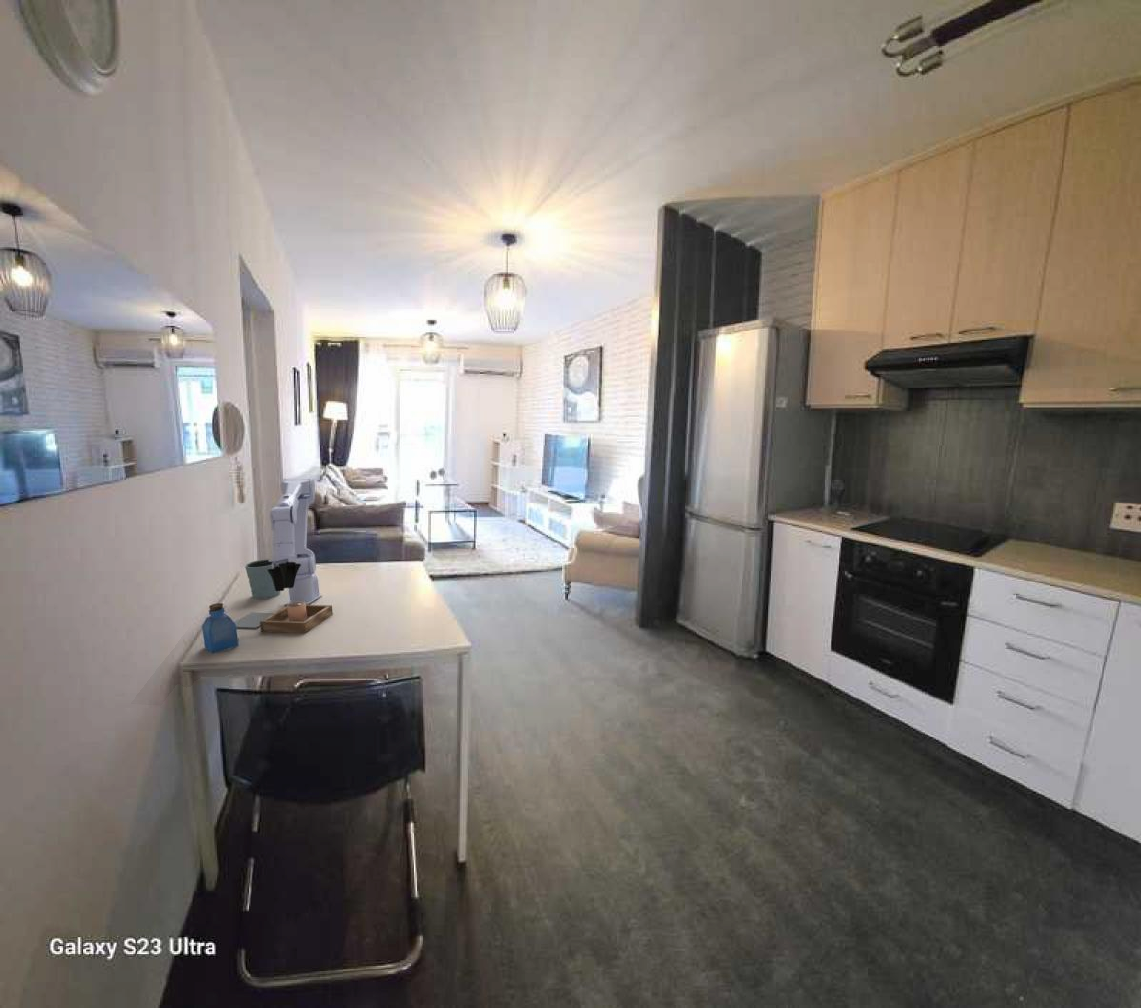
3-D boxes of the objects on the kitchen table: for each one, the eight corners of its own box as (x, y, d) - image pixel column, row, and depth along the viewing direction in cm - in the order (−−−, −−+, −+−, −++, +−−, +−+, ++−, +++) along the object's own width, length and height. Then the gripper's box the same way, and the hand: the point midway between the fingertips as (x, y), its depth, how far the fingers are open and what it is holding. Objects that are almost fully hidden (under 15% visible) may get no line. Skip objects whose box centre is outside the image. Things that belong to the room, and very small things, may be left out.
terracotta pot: (295, 619, 156) (293, 600, 154) (310, 619, 155) (308, 601, 154) (285, 625, 151) (283, 606, 150) (300, 626, 150) (298, 607, 149)
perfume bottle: (230, 639, 142) (225, 599, 139) (238, 645, 138) (233, 604, 136) (205, 647, 137) (198, 606, 135) (212, 653, 133) (206, 611, 131)
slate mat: (252, 613, 160) (252, 612, 160) (281, 614, 159) (281, 613, 159) (225, 628, 149) (225, 626, 149) (256, 629, 148) (256, 627, 148)
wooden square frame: (291, 613, 160) (290, 604, 160) (332, 614, 159) (331, 605, 158) (260, 631, 147) (259, 621, 146) (305, 632, 145) (304, 623, 145)
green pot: (288, 590, 181) (285, 559, 179) (269, 600, 172) (265, 567, 169) (262, 590, 182) (259, 558, 180) (242, 600, 173) (238, 566, 170)
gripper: (261, 548, 153) (261, 593, 151) (277, 540, 144) (278, 587, 141) (286, 548, 159) (286, 591, 156) (303, 540, 149) (304, 586, 147)
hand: (284, 589), depth 149 cm, fingers open, 7 cm apart
